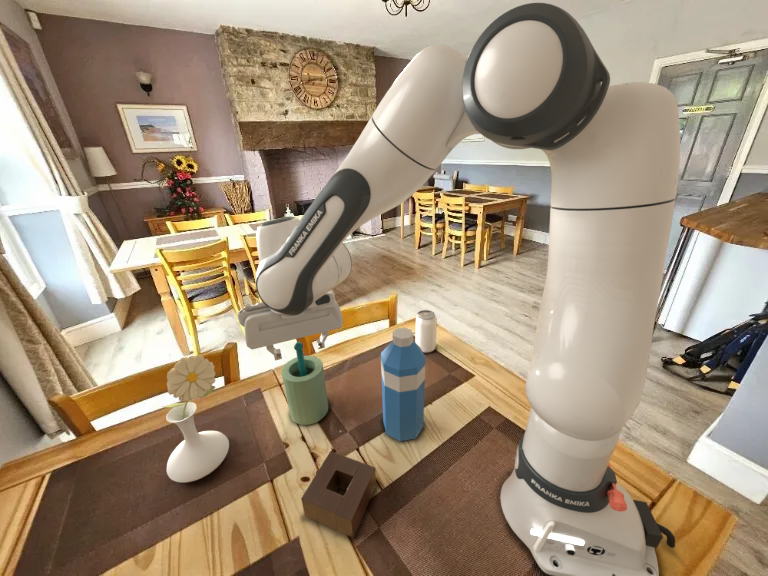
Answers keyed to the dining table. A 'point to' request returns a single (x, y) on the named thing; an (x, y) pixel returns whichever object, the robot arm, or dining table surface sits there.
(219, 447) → the flower in vase
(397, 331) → the water bottle
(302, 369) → the bottle brush
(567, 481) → the robot arm
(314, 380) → the jar
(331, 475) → the brush holder
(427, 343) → the can
